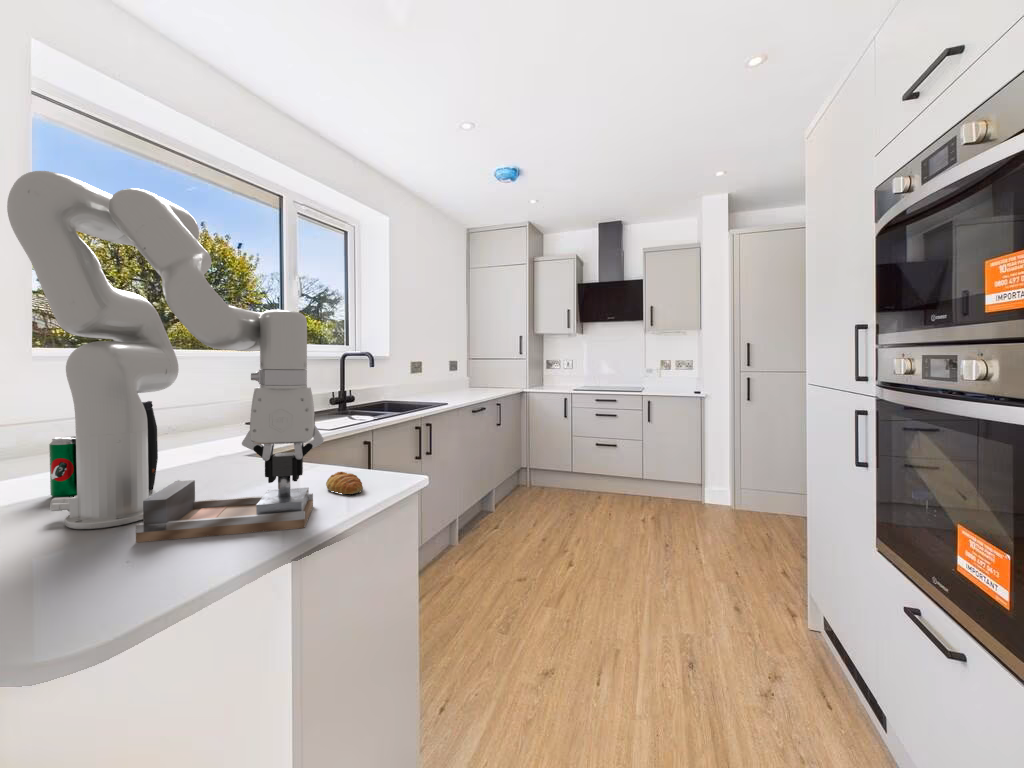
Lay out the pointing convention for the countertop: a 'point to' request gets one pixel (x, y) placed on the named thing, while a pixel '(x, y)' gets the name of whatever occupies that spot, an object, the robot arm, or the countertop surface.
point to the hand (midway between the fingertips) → (284, 479)
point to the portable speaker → (151, 443)
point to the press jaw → (283, 489)
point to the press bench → (208, 515)
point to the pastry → (344, 483)
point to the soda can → (63, 467)
